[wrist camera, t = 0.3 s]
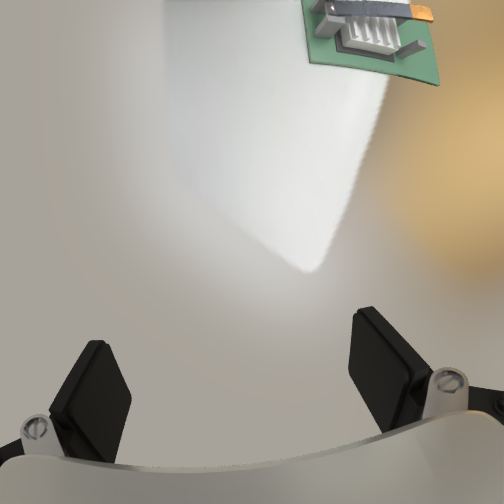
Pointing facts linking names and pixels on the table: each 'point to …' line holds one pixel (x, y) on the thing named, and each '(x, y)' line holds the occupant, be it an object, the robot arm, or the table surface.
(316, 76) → the table surface
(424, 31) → the board
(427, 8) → the strap
